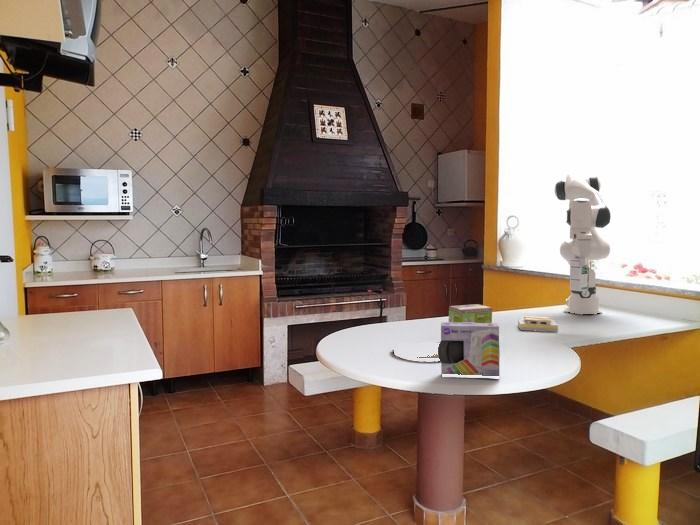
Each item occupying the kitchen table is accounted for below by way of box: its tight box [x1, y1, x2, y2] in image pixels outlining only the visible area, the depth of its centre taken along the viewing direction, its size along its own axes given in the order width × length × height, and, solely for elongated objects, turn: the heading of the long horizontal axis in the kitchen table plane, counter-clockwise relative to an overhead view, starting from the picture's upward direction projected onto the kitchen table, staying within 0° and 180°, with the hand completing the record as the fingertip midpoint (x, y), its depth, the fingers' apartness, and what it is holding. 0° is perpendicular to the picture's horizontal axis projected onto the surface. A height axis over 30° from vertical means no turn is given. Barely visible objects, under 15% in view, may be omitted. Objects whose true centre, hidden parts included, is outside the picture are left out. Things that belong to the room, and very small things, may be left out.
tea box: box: [448, 303, 493, 323], centre depth 219 cm, size 15×10×15 cm
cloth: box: [523, 315, 553, 324], centre depth 243 cm, size 9×11×2 cm
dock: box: [517, 318, 559, 333], centre depth 243 cm, size 12×16×3 cm
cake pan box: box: [438, 321, 501, 377], centre depth 170 cm, size 19×5×18 cm, turn 78°
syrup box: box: [569, 258, 590, 291], centre depth 239 cm, size 6×6×14 cm
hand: (579, 265), depth 239 cm, fingers closed on syrup box, 8 cm apart
